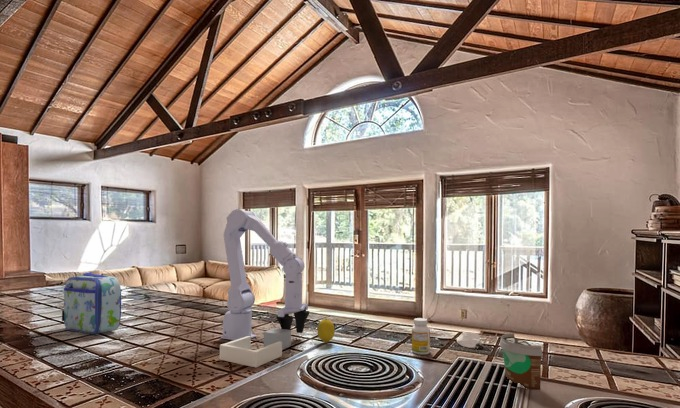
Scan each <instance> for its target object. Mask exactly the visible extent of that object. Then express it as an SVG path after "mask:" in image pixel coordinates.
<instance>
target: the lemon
mask: <svg viewBox="0 0 680 408" xmlns="http://www.w3.org/2000/svg"><path fill="white" fill-rule="evenodd" d="M335 331H336V330H335V325H334V323H333V322H332V321H331V320H330V319H328V318H327V317H326V318H324V319H322V320H320V322H319V323H318V326H317V336H318V338H319V340H320V341H322V342H323V343H325V344H328V342H330V341H331V340H332V339H334V336H335Z"/></svg>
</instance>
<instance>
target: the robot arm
mask: <svg viewBox="0 0 680 408" xmlns="http://www.w3.org/2000/svg"><path fill="white" fill-rule="evenodd" d="M248 230H249V231H251V232H252V231H253V232H254V233H255V234H257V236H258V237H259V238H260V239H261V240H263V241H264V243H265V244H266V245H267V246H268V247H269V253H270V254H271V256H272V257H273V258H274V259H275V260H276V261H277V262H278V263H279V264H280V265H281V266H282V271H283V274H285V281H284V282H285V284H284V285H285V286H284V287H285V288H284V289H285V290H284V291H285V292H284V294H285V295H284V307H282V308H281V309H279V310H278V309H277V315H276V320H277V321H278V323H279V325H280V329H287V330H291V329H292V324H293V321H294V320H295V330H296V333H298V334H303V333H304V329H305V325H306V321H307V319H308V317H309V315H310V310H308V309H309V304H308V303H303V271H304V269H305V263H304V260H303V259H302V258H301V257H298V255H297V254H296V253H295V252H293V251H292V250H291V249H290V248H289V247H288V246H289V245H288V243H287V242H284V241H282V240H277V239H276V237H275V236H274V235H273V234H272V232H271V231H270V230H269V229H268V228H267V226H266V225H265V224H264V222H262V220H261V219H260V218H259V216H257V215H256V214H255V213H254V212H253V211H251V210H243V209H241V208H236V209H233V210H231V211H230V213H229V214H228V216H227V217H226V224H225V228H224V231H223V240H224V249H225V254H226V260H227V261H226V262H227V268H228V274H229V275H228V276H229V280H230V286H229V288H228V291H227V294H228V295H227V296H228V297H227V301H226V305H227V309H229V310H228V311H226V312H225V314H224V315H223V318H222V319H223V320H222V335H221V336H220V338H221V339H225V340H230V341H234V340H237V339H240V338H243V337H246V336H251V339H252V338H256V337H257V336H258V335H257V334H252V318H253V316H252V315H253V309H252V306H254V304H255V303H256V302H255V301H256V297H255V294H254V293H253V291H252V289H251V288H252V287H251V285H250V284H249V283H248V281H247V274H246V269H245V268H246V267H245V263H244V262H245V261H244V257H243V249H242V243H241V238H242V236H243V235H244V233H246V231H248ZM292 314H293V315H294V317H293V316H290V315H292ZM291 331H292V330H291Z"/></svg>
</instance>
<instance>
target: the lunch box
mask: <svg viewBox="0 0 680 408" xmlns="http://www.w3.org/2000/svg"><path fill="white" fill-rule="evenodd" d="M121 319H122V288H121V284H120V281H119V279H118V278H117V277H116V276H111V275H106V274H95V273H94V274H93V273H92V272H85V273H83V274H82V275H77V276H71V277H68V278H67V279H66V282H65V286H64V288H63V310H62V311H61V321H62V322H63V324H64V327H65V330H66V329H67V330H66V331H73V332H78V331H79V333H84V334H88V335H96V334H97V335H98V334H103V333H108V332H111V331H116V330H118V329H119V327H120V325H121Z"/></svg>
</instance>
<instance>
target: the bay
mask: <svg viewBox="0 0 680 408" xmlns="http://www.w3.org/2000/svg"><path fill="white" fill-rule="evenodd" d="M251 341H252V338H251V336H246V337H243V338H240V339H237V340H230V341H228V342H225V343H222V344H219V360H221V361H225V362H230V363H234V364H238V365H243V366H248V367H252V368H259V367H261V366H262V365H265V364H267V363H269V362H271V361H274V360H276V359H278V358H281V357H282V356H283V350H282V342H280V341H279V342H276V343H273V344H271V345H268V346H265V347H264V346H263V347H261V348H257V349H251V344H252V342H251Z"/></svg>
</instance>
